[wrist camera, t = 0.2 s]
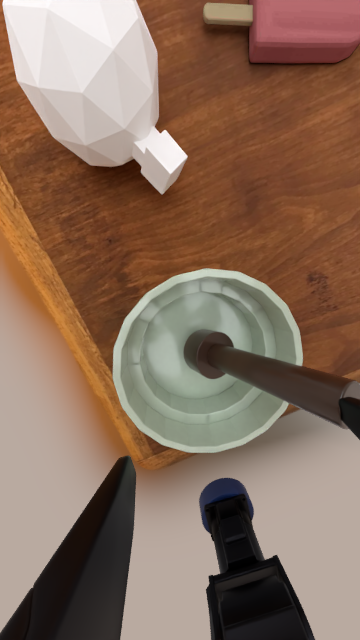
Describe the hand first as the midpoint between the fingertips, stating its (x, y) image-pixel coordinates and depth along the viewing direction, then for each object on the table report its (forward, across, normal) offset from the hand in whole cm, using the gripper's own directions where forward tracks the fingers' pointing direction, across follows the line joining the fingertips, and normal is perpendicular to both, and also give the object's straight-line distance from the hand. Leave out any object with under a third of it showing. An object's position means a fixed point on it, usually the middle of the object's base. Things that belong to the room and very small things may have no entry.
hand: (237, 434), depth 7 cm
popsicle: (+14, -14, -26) cm, 33 cm away
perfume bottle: (+14, +3, -19) cm, 24 cm away
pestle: (+11, -1, +1) cm, 11 cm away
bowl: (+13, 0, +1) cm, 13 cm away
